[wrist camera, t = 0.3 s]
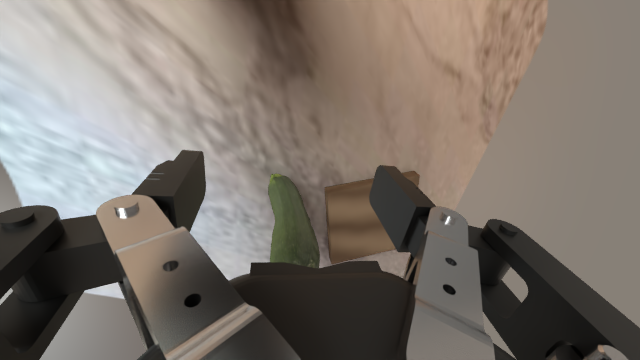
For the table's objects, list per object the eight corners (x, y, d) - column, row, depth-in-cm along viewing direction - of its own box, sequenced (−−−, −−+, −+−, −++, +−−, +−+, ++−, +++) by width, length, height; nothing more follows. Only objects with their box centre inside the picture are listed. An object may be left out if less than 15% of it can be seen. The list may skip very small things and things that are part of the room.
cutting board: (324, 187, 36) (327, 193, 34) (414, 170, 38) (419, 175, 37) (329, 257, 43) (331, 264, 41) (404, 239, 45) (409, 245, 44)
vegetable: (301, 172, 34) (352, 308, 17) (290, 199, 35) (327, 347, 18) (268, 164, 32) (289, 305, 15) (259, 192, 34) (268, 348, 17)
